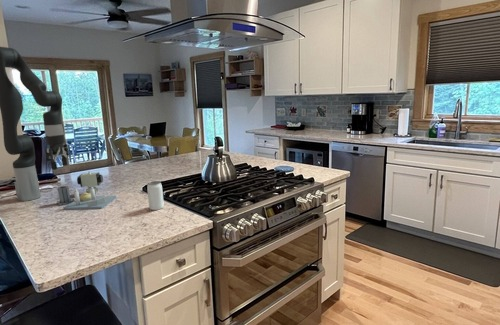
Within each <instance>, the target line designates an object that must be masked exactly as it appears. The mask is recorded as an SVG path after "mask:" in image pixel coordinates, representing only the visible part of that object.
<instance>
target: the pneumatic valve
mask: <svg viewBox="0 0 500 325" xmlns="http://www.w3.org/2000/svg"><path fill="white" fill-rule="evenodd" d="M76 181H77V182H76V183H77V184H78V185H79V186H80V187H81V188H85V187H87V188H86V189H85V193H90V194H91V192H90V189H91V187H93V189H94V191H95V194H96V193H98V187H97V186H100V185H101V183H103V182H104V177H103V174H100V171H99V172H97V171H96V172H91V171H88V172H87V173H81V174H79V176H77V178H76Z"/></svg>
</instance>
